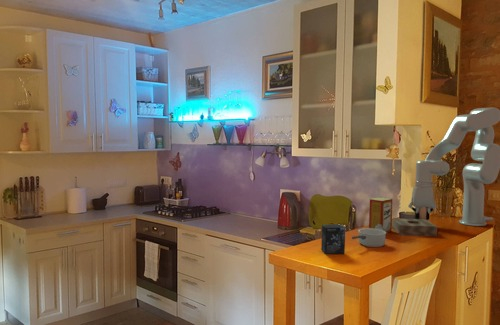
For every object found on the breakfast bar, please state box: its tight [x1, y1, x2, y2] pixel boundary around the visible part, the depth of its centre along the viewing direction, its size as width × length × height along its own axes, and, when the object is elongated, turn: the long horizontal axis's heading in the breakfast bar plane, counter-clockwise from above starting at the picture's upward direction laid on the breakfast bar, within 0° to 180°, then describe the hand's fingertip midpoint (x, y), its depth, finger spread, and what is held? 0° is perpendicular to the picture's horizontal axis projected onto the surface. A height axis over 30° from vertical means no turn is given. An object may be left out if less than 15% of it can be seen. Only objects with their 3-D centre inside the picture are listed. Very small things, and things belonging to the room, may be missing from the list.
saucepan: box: [351, 228, 388, 248], centre depth 173 cm, size 12×20×6 cm, turn 133°
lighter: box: [375, 220, 391, 231], centre depth 189 cm, size 7×2×8 cm, turn 43°
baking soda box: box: [368, 197, 393, 234], centre depth 198 cm, size 10×6×16 cm
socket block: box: [392, 217, 438, 237], centre depth 199 cm, size 16×16×4 cm
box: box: [320, 223, 346, 255], centre depth 163 cm, size 8×6×11 cm
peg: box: [418, 207, 427, 219], centre depth 212 cm, size 4×4×12 cm
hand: (421, 220), depth 212 cm, fingers closed on peg, 4 cm apart
